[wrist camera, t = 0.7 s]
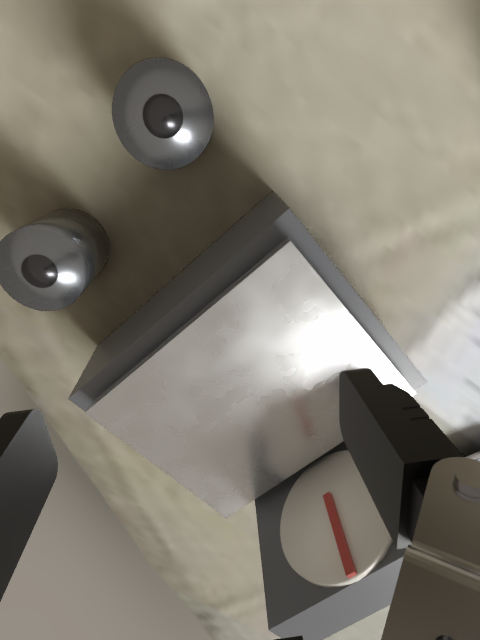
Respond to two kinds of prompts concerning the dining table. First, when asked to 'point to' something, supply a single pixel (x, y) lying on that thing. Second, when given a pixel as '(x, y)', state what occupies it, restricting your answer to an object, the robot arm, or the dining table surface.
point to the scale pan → (245, 384)
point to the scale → (309, 482)
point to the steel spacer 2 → (162, 113)
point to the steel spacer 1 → (52, 259)
